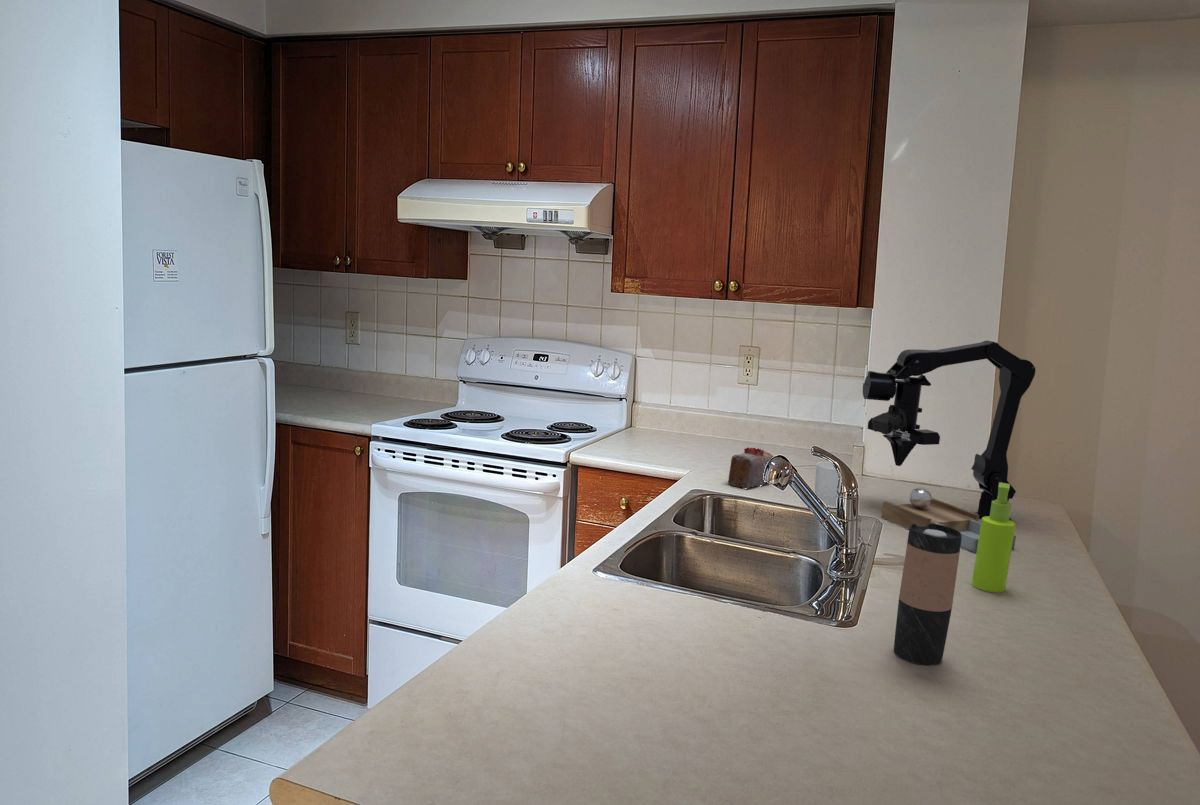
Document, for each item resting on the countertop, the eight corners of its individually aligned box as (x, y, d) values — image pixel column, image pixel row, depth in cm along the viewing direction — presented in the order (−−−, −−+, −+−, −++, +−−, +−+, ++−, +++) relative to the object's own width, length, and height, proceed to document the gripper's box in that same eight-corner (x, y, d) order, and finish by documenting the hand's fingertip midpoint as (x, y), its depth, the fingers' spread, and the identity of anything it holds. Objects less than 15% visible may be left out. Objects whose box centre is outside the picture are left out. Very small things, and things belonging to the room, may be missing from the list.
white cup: (842, 502, 229) (847, 463, 228) (847, 511, 222) (852, 470, 220) (810, 499, 230) (814, 460, 228) (814, 507, 222) (818, 467, 221)
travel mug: (937, 671, 136) (957, 541, 133) (885, 656, 140) (903, 529, 137) (948, 654, 142) (967, 530, 139) (898, 640, 146) (915, 519, 143)
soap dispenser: (1005, 584, 177) (1021, 483, 174) (1004, 595, 171) (1021, 491, 168) (973, 577, 180) (988, 478, 177) (970, 588, 174) (986, 485, 170)
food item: (750, 477, 249) (753, 441, 247) (776, 483, 244) (780, 447, 242) (724, 485, 238) (728, 447, 236) (752, 491, 233) (756, 453, 231)
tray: (970, 532, 212) (972, 519, 211) (1013, 549, 201) (1016, 536, 201) (932, 535, 206) (933, 522, 206) (974, 553, 196) (976, 539, 195)
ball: (919, 504, 221) (922, 484, 220) (934, 510, 217) (937, 490, 216) (903, 505, 219) (906, 485, 218) (919, 511, 215) (922, 490, 214)
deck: (931, 514, 225) (933, 498, 224) (976, 531, 213) (979, 515, 212) (881, 517, 218) (883, 501, 217) (925, 536, 206) (927, 519, 205)
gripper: (854, 395, 226) (846, 457, 229) (909, 410, 210) (900, 476, 212) (888, 395, 231) (880, 456, 234) (945, 409, 215) (936, 474, 217)
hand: (898, 465), depth 224 cm, fingers closed
